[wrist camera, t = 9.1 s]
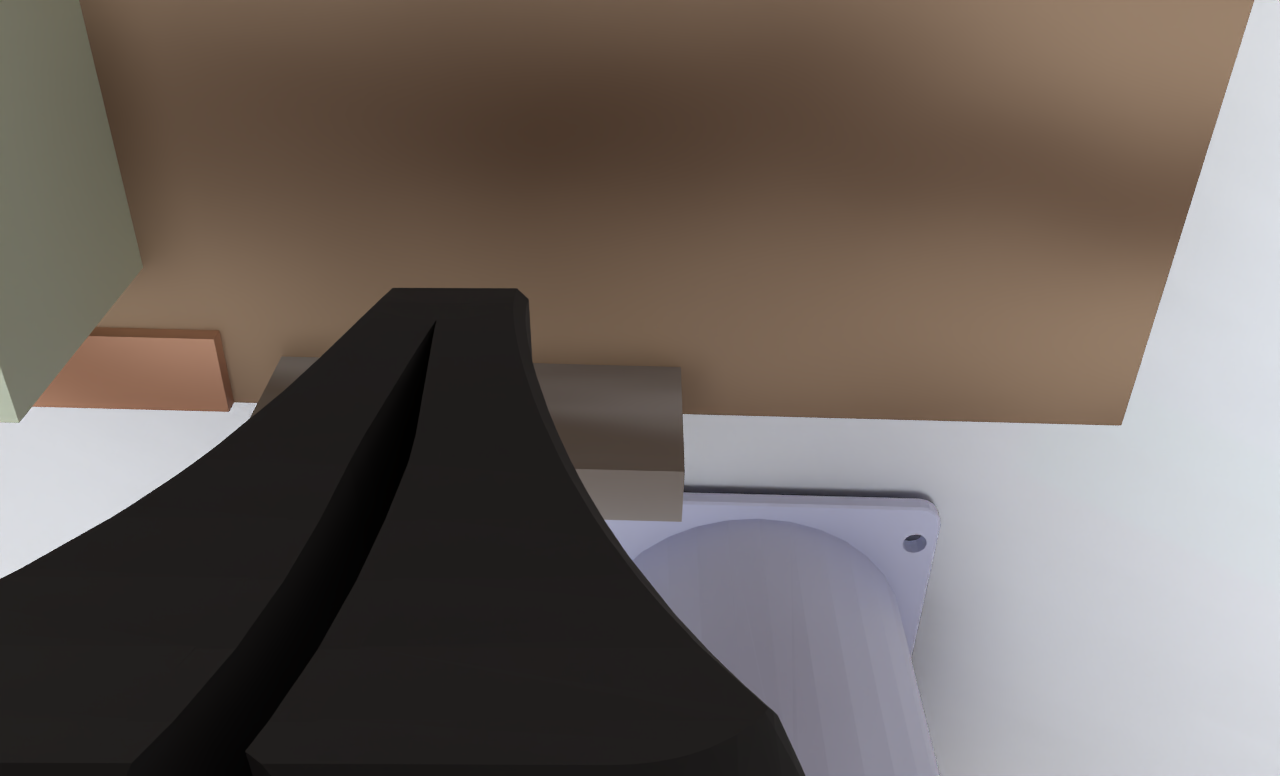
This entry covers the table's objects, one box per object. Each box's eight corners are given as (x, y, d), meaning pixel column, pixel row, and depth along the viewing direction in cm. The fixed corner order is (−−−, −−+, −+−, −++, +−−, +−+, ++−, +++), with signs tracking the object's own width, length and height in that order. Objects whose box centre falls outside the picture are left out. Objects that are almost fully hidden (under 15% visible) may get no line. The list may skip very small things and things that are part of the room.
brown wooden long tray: (1071, 339, 23) (1185, 534, 18) (-443, 299, 23) (-745, 485, 18) (1221, -216, 18) (1443, -154, 13) (-766, -273, 18) (-1329, -232, 13)
